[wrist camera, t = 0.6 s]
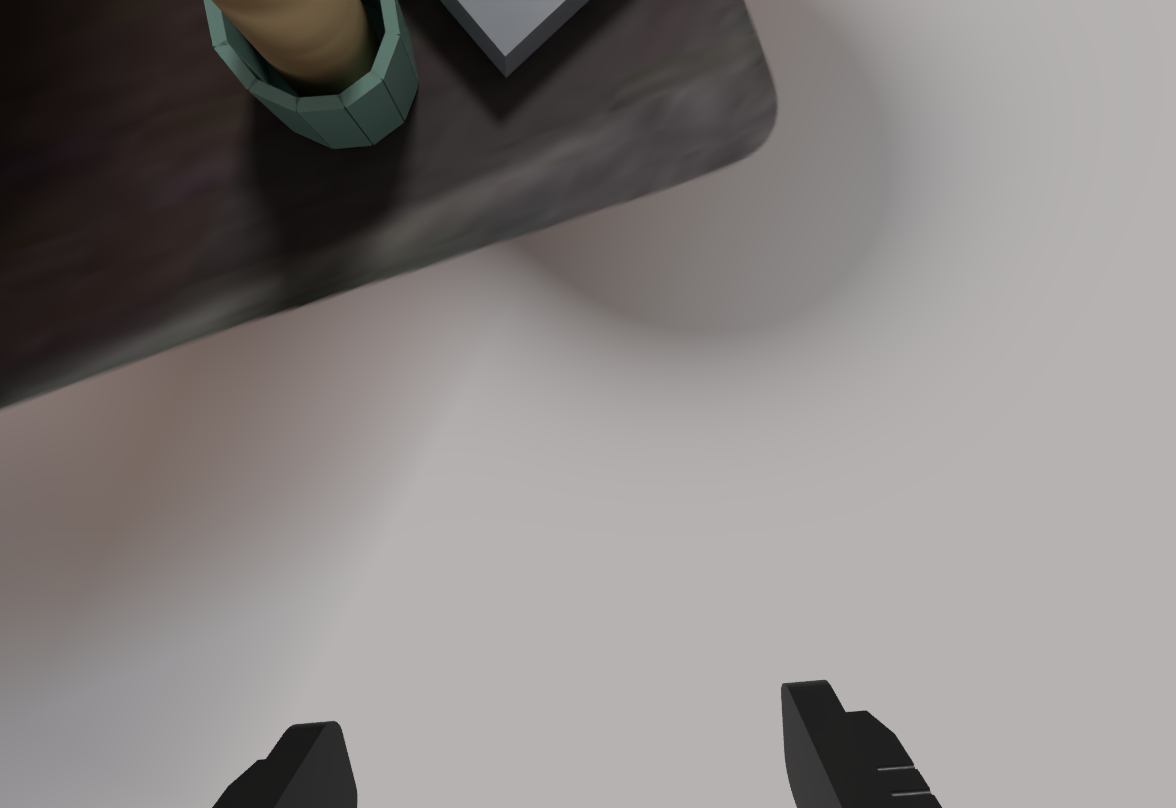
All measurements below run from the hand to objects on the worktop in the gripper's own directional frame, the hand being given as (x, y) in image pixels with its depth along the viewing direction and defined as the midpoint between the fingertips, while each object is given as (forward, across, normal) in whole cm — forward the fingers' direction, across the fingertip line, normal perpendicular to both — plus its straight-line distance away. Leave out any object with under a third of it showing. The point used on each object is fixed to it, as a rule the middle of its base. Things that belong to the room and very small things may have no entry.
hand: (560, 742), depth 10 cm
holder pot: (+23, +11, -20) cm, 33 cm away
